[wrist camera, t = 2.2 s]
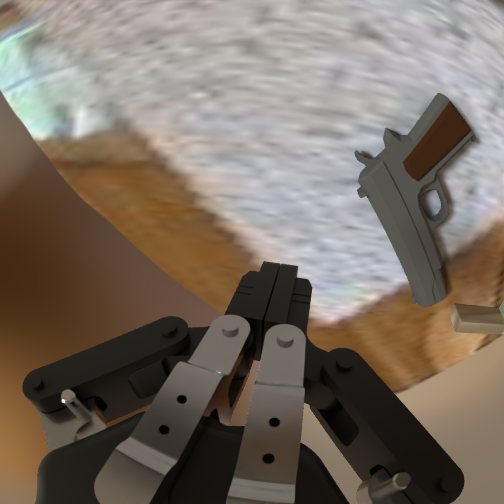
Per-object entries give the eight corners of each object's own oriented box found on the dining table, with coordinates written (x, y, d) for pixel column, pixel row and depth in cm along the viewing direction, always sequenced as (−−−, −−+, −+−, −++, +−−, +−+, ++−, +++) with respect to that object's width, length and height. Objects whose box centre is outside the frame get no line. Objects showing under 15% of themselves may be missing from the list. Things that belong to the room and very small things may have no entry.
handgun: (499, 252, 22) (411, 298, 27) (443, 87, 16) (331, 148, 22) (509, 267, 19) (416, 315, 25) (456, 87, 14) (332, 155, 20)
